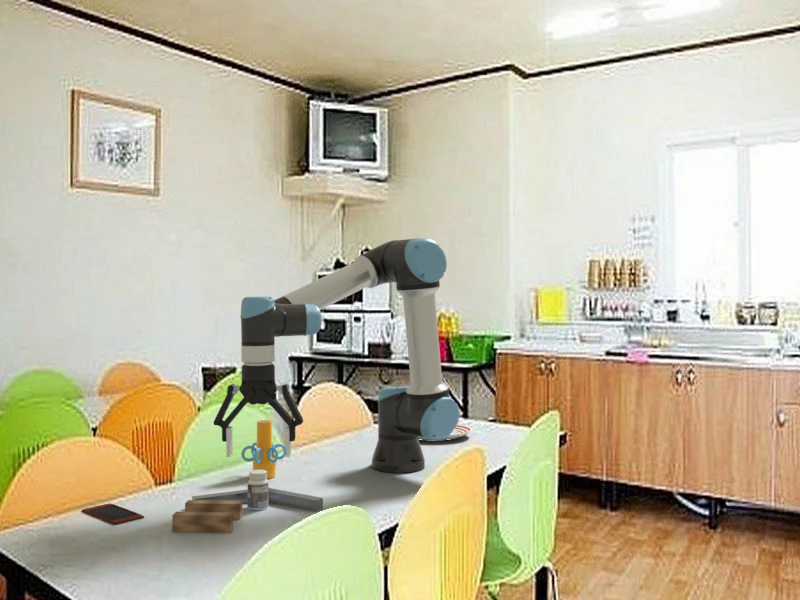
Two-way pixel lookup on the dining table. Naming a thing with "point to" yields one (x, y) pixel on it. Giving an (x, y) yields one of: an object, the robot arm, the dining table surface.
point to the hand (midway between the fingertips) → (259, 455)
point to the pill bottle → (258, 490)
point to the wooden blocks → (207, 516)
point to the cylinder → (264, 449)
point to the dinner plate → (462, 431)
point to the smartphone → (113, 514)
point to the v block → (270, 498)
